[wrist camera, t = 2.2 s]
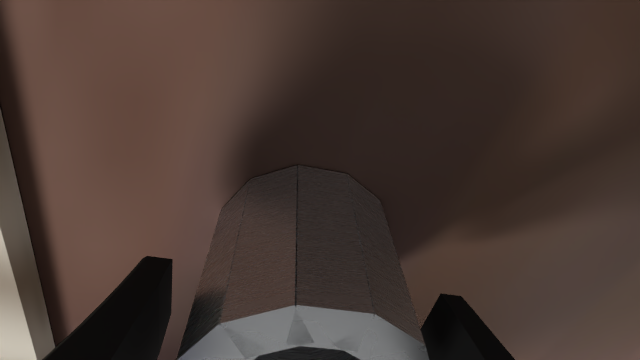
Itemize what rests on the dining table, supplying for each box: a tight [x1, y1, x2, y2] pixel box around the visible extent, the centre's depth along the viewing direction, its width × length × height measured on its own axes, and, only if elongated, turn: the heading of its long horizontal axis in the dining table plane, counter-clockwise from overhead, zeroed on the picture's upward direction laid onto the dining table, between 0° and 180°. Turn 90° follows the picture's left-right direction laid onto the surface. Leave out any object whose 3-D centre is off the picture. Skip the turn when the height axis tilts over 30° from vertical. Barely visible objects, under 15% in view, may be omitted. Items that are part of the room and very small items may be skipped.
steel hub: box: [176, 165, 429, 360], centre depth 10 cm, size 6×6×5 cm
